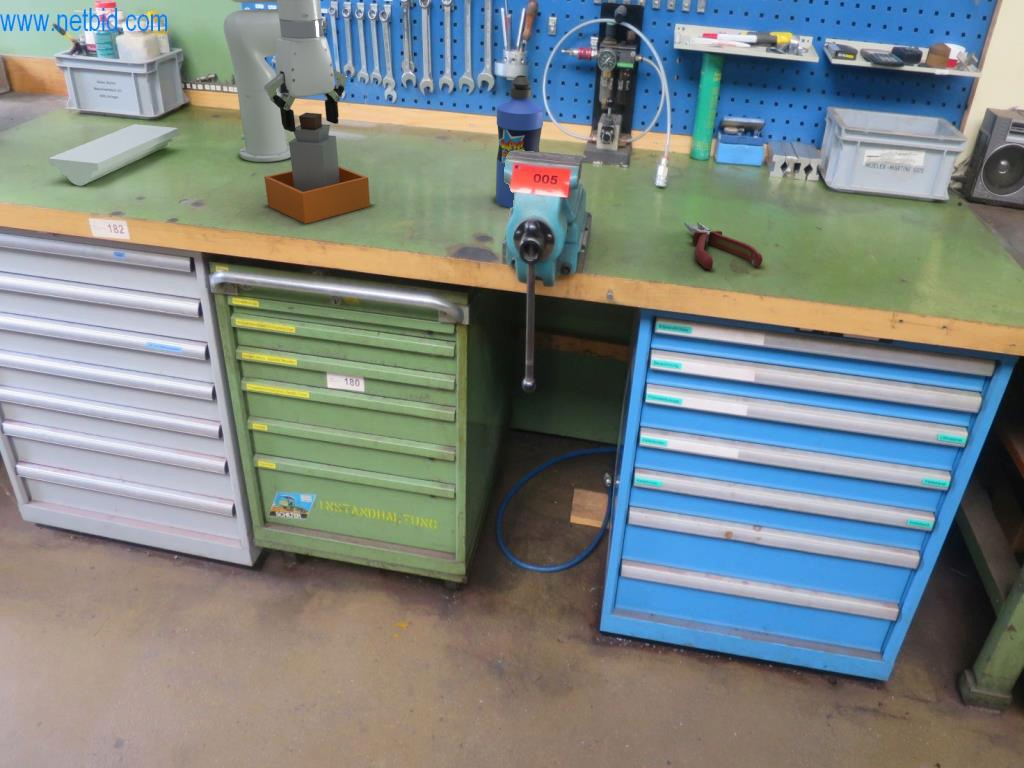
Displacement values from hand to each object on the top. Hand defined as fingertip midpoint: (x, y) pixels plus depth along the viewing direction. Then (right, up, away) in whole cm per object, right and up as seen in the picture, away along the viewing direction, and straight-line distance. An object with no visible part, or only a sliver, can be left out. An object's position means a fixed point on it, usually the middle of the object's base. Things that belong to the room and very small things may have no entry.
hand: (311, 126), depth 152 cm
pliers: (+77, -25, -5) cm, 81 cm away
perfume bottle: (-1, -14, +8) cm, 16 cm away
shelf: (-50, 0, +27) cm, 56 cm away
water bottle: (+40, -11, +15) cm, 44 cm away
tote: (-1, -13, +8) cm, 16 cm away
